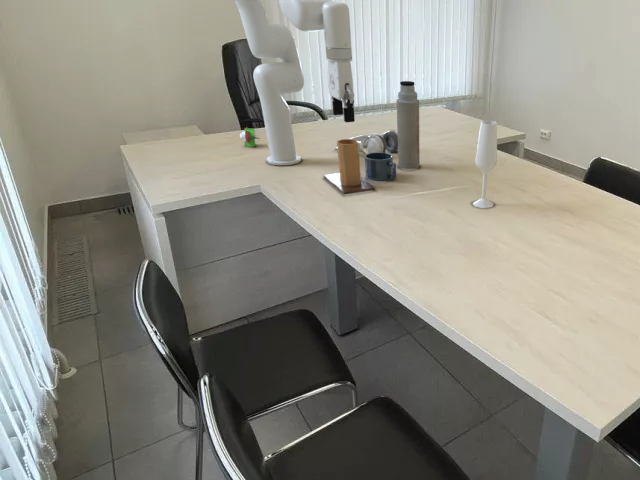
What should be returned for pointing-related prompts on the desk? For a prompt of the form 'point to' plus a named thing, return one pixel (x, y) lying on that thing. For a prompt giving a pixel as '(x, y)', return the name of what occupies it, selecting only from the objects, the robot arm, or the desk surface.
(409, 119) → the thermos bottle
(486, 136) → the champagne flute
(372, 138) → the headphones
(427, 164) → the desk surface
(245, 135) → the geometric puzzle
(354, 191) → the serving board
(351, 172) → the paper cup
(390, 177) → the mug
